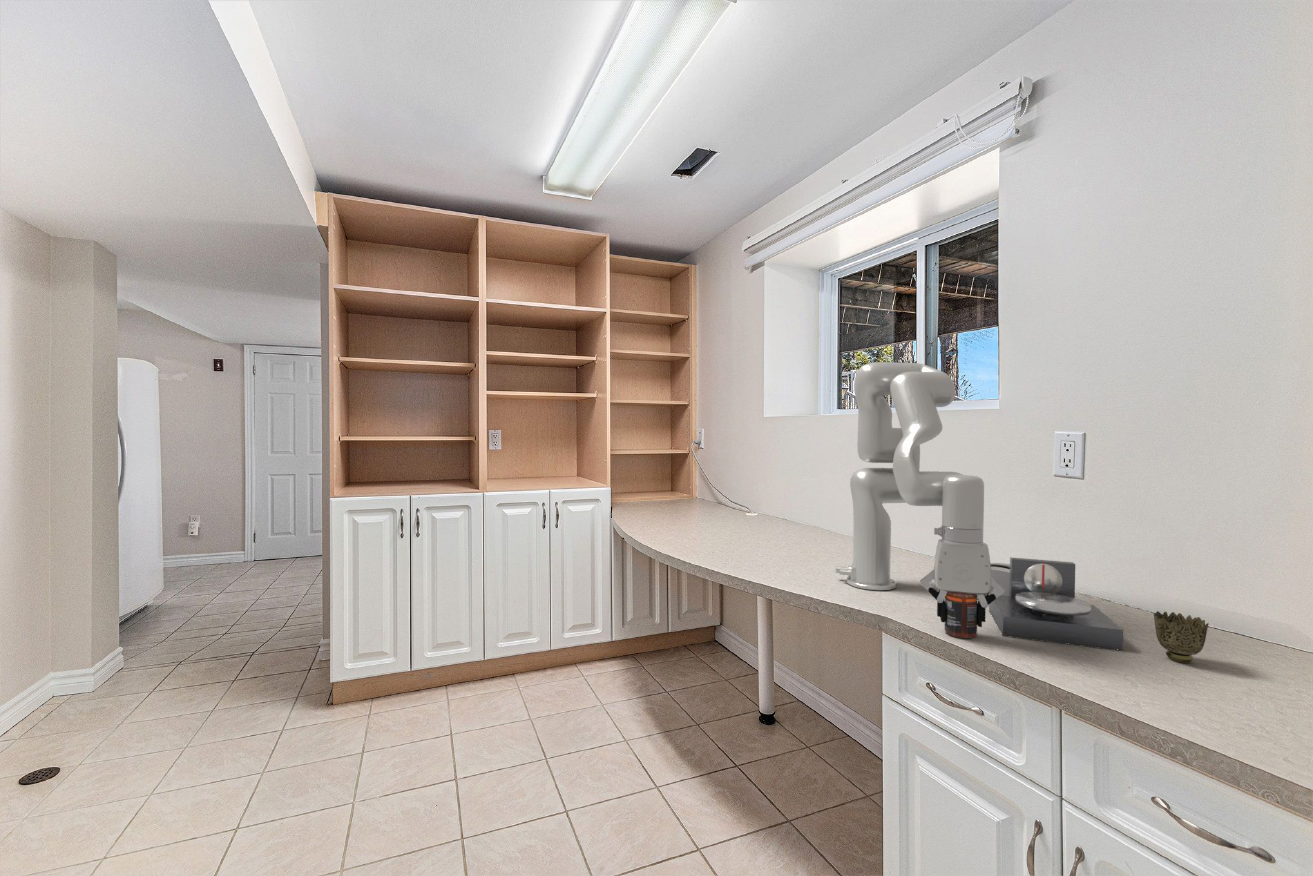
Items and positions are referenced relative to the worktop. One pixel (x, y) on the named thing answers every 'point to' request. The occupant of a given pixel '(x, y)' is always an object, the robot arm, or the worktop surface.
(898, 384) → the robot arm
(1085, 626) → the dial scale
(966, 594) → the supplement bottle
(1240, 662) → the worktop surface
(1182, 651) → the cup
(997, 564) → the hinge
